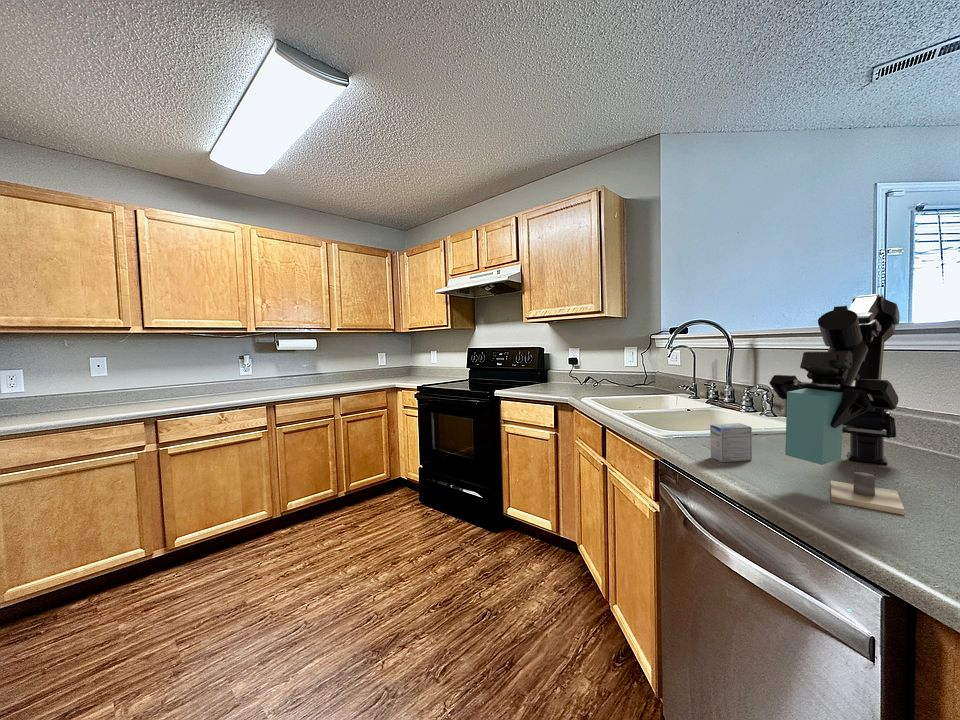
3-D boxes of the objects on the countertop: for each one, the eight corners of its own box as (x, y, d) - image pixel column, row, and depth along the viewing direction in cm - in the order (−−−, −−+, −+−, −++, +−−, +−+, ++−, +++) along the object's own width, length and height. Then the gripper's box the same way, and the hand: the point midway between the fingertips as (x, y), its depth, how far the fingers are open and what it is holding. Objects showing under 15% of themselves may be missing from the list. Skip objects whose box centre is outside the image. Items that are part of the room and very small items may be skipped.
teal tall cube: (803, 449, 79) (806, 388, 78) (841, 459, 74) (844, 392, 72) (785, 454, 77) (787, 391, 76) (822, 464, 71) (824, 396, 70)
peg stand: (830, 485, 77) (830, 463, 77) (896, 495, 71) (896, 471, 71) (831, 501, 70) (831, 477, 70) (904, 514, 64) (904, 488, 64)
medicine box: (740, 455, 99) (739, 422, 98) (752, 461, 94) (752, 426, 94) (710, 457, 98) (709, 424, 98) (721, 462, 94) (720, 428, 94)
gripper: (773, 338, 84) (742, 392, 80) (890, 334, 67) (858, 403, 63) (795, 371, 88) (766, 424, 84) (911, 375, 71) (882, 443, 67)
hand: (811, 423), depth 74 cm, fingers closed on teal tall cube, 6 cm apart
